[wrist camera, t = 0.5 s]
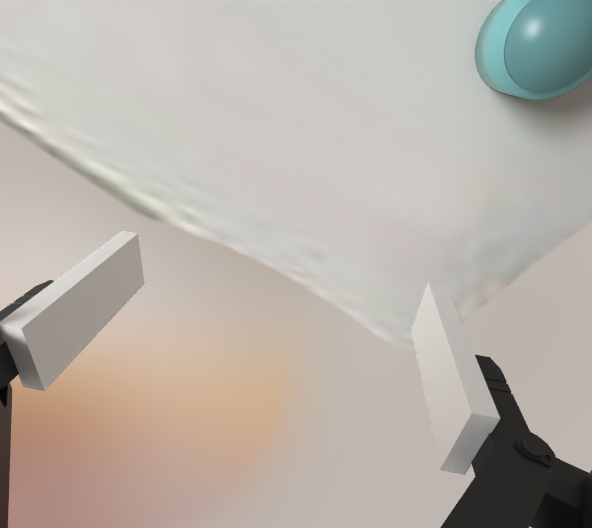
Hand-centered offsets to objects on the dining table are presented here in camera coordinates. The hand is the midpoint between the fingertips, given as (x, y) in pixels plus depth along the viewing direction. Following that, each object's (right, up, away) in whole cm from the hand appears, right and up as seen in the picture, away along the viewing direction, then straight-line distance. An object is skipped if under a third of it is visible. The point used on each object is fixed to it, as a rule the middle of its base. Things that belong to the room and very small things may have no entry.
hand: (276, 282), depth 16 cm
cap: (+21, +20, +15) cm, 32 cm away
